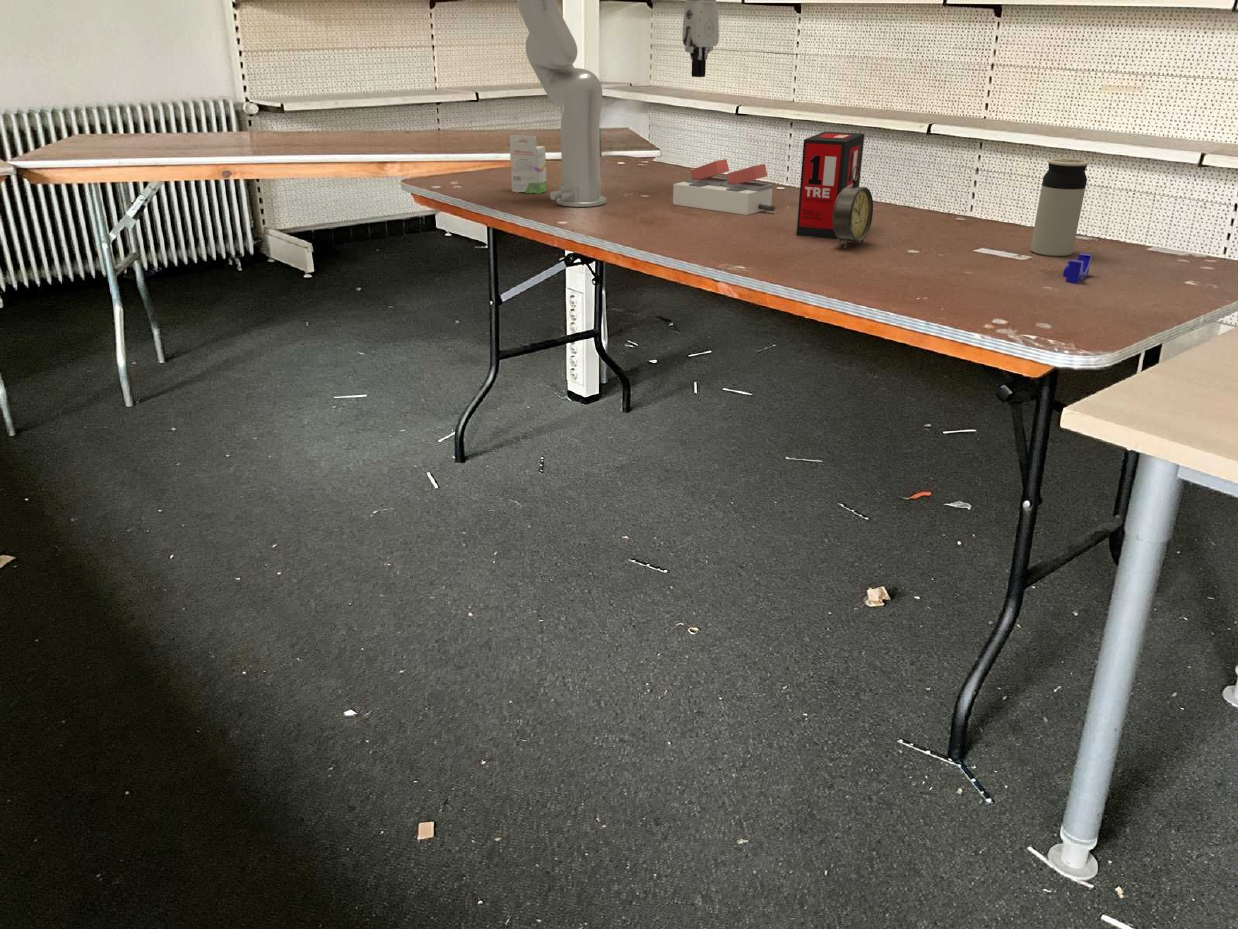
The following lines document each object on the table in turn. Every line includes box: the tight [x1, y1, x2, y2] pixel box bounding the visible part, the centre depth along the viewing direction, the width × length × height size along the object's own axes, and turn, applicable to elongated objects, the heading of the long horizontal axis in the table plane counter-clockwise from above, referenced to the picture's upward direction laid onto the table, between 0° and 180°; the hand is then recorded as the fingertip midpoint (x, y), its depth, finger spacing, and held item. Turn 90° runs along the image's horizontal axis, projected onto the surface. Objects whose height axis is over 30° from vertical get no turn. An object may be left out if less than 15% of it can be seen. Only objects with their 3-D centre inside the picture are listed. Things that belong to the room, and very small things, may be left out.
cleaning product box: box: [795, 131, 866, 240], centre depth 213 cm, size 16×9×20 cm, turn 154°
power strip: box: [672, 176, 776, 216], centre depth 241 cm, size 11×26×6 cm, turn 51°
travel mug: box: [1029, 157, 1090, 258], centre depth 194 cm, size 8×8×18 cm
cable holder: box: [1062, 252, 1093, 284], centre depth 178 cm, size 8×4×4 cm, turn 143°
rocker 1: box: [689, 158, 730, 180], centre depth 244 cm, size 5×8×3 cm, turn 51°
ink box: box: [509, 134, 548, 195], centre depth 259 cm, size 9×5×15 cm, turn 65°
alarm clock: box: [833, 165, 874, 251], centre depth 200 cm, size 11×5×16 cm, turn 143°
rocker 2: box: [726, 163, 768, 185], centre depth 238 cm, size 5×8×3 cm, turn 51°
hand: (698, 76), depth 248 cm, fingers closed
